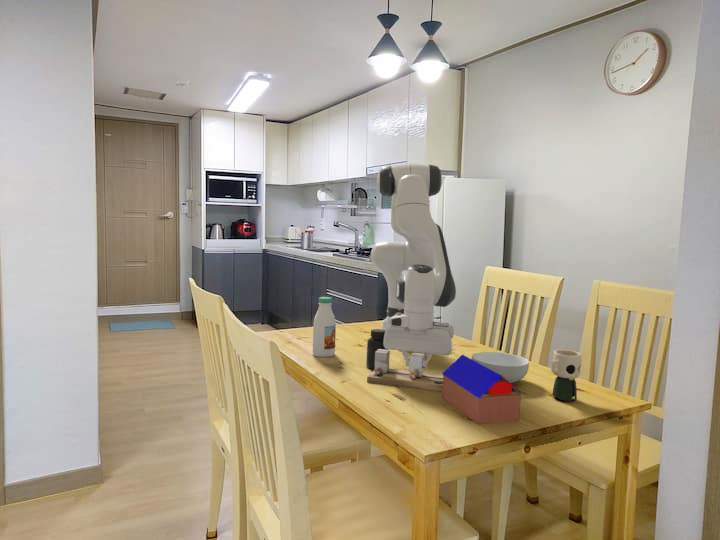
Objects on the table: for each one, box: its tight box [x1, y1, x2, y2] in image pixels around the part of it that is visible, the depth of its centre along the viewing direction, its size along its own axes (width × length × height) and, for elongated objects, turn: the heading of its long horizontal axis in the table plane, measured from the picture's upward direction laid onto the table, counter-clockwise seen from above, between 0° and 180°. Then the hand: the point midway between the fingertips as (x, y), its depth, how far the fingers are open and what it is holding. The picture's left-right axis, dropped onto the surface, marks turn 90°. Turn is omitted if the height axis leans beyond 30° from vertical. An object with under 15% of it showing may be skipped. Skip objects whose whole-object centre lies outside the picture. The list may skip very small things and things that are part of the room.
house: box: [441, 354, 524, 425], centre depth 137 cm, size 12×20×12 cm, turn 17°
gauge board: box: [366, 349, 443, 392], centre depth 157 cm, size 11×27×8 cm, turn 73°
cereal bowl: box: [470, 351, 530, 384], centre depth 161 cm, size 17×17×7 cm
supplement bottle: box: [365, 328, 389, 370], centre depth 171 cm, size 7×7×12 cm
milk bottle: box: [312, 296, 337, 358], centre depth 183 cm, size 8×8×20 cm
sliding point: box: [409, 352, 425, 379], centre depth 157 cm, size 7×4×6 cm, turn 163°
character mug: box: [550, 349, 583, 402], centre depth 146 cm, size 11×7×13 cm, turn 117°
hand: (416, 366), depth 158 cm, fingers closed on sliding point, 3 cm apart
